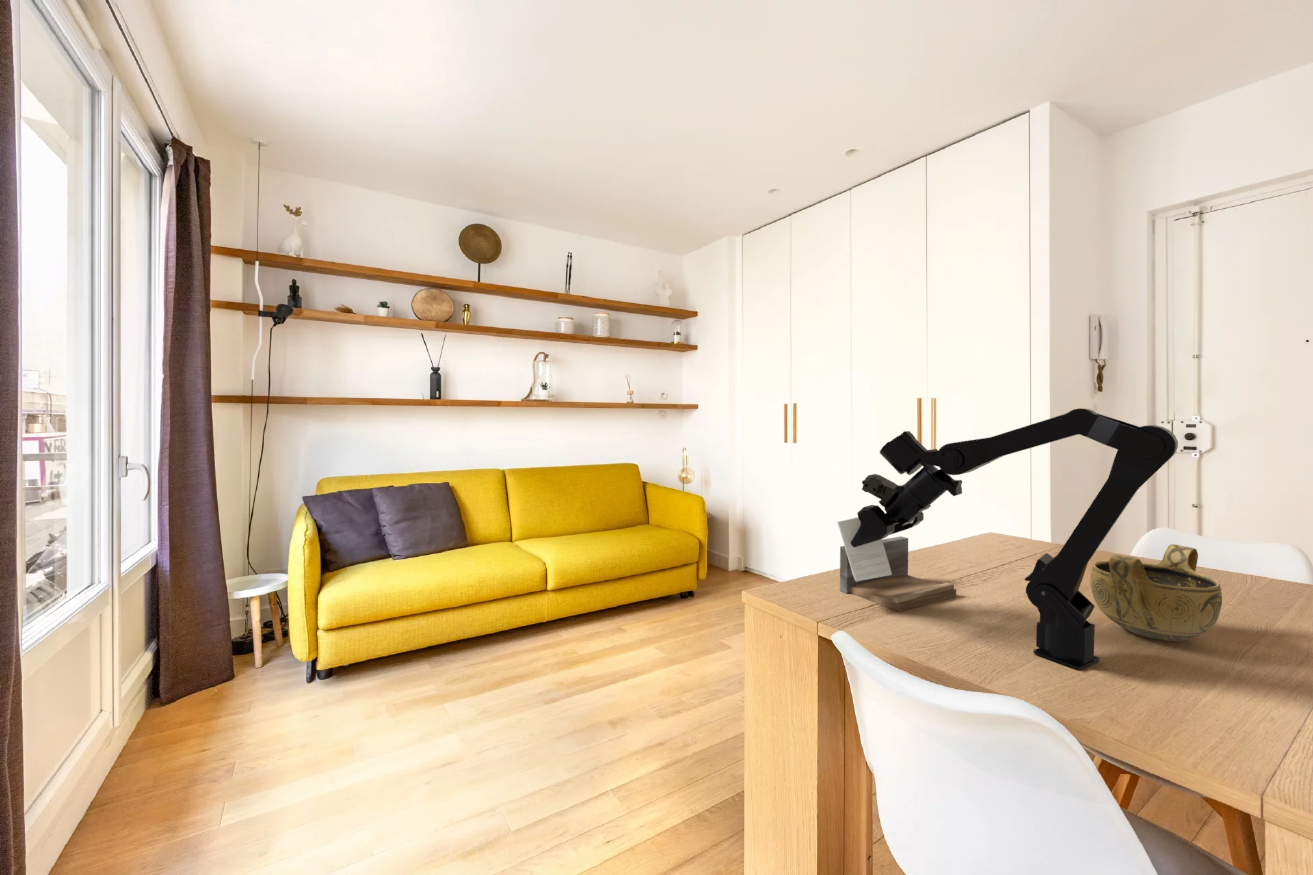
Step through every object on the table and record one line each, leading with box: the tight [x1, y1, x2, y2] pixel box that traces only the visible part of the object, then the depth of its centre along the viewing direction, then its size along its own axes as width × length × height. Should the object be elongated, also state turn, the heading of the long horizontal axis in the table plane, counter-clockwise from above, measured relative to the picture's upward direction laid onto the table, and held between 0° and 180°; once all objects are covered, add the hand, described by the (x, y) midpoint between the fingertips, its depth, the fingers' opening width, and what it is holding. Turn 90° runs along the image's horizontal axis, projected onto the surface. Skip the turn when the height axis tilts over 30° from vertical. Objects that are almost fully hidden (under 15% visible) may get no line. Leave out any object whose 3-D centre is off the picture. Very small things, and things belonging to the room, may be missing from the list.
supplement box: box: [836, 510, 892, 582], centre depth 108 cm, size 7×7×13 cm
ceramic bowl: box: [1090, 543, 1223, 642], centre depth 93 cm, size 22×17×15 cm
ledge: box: [839, 536, 957, 612], centre depth 115 cm, size 14×20×10 cm
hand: (863, 541), depth 108 cm, fingers closed on supplement box, 9 cm apart
